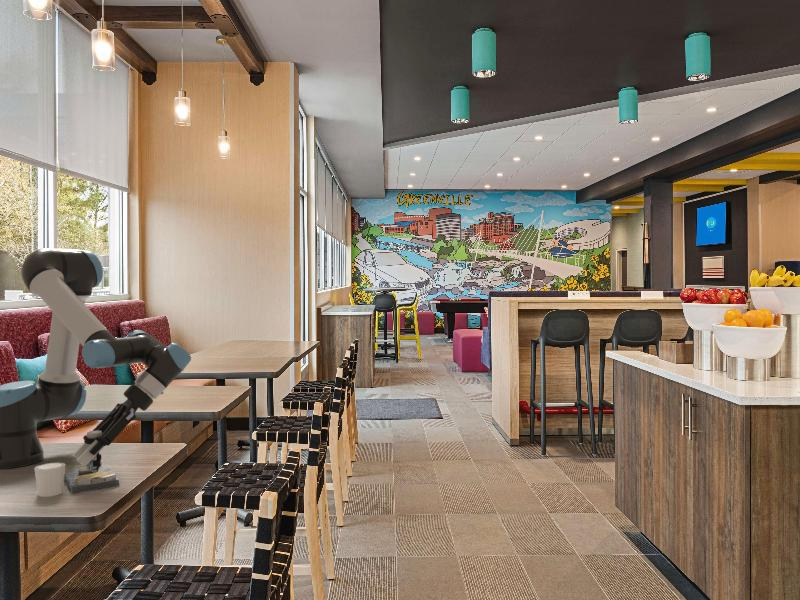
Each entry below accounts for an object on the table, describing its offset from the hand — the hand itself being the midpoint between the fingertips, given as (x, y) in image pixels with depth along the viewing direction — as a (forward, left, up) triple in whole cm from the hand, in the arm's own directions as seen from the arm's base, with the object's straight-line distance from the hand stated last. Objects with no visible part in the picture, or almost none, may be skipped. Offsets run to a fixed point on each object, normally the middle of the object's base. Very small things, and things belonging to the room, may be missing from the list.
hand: (79, 460), depth 166 cm
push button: (0, +4, -3) cm, 5 cm away
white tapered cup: (+2, -7, -7) cm, 10 cm away
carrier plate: (-2, +3, -7) cm, 8 cm away
